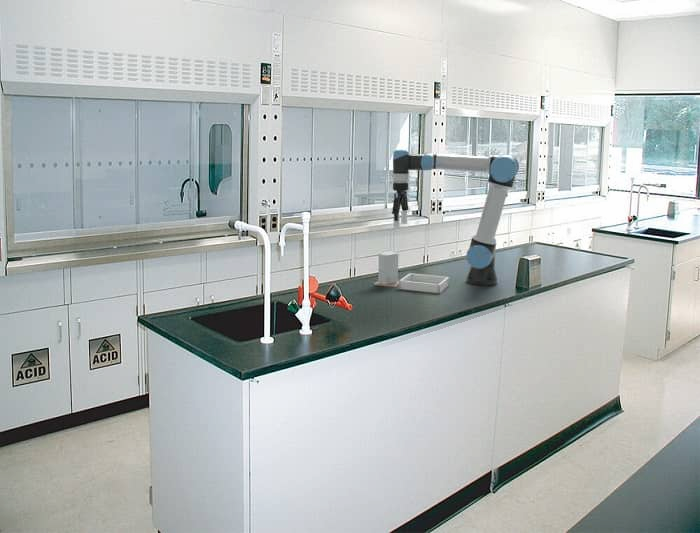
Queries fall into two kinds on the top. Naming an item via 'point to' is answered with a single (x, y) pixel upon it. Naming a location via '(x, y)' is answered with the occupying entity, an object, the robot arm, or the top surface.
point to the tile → (387, 284)
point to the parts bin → (424, 283)
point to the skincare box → (388, 268)
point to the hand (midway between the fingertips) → (400, 225)
